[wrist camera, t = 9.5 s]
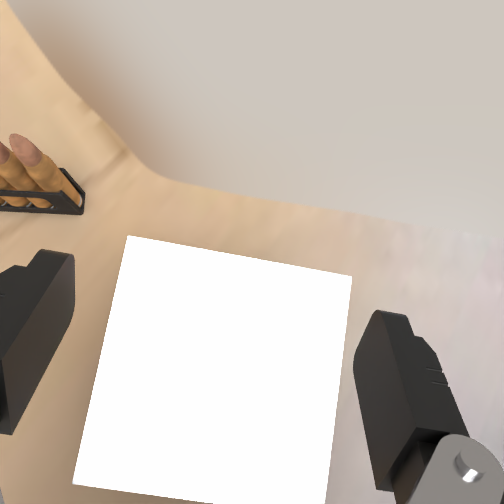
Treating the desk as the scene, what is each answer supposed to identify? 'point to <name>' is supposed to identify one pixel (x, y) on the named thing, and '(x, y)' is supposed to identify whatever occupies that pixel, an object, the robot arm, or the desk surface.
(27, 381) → the robot arm
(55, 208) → the ammunition clip
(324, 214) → the desk surface
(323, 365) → the column
